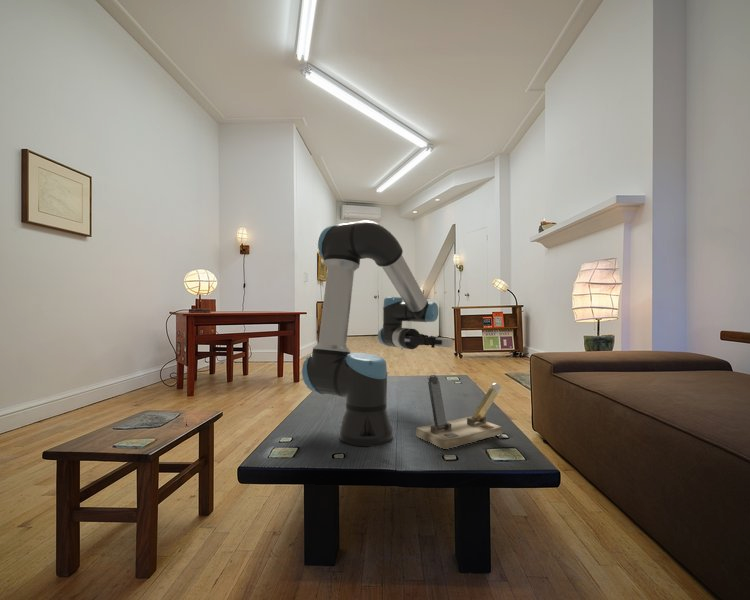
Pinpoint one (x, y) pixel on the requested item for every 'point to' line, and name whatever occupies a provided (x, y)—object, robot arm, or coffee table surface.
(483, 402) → the lever brass
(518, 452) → the coffee table surface
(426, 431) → the console
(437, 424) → the lever slate
